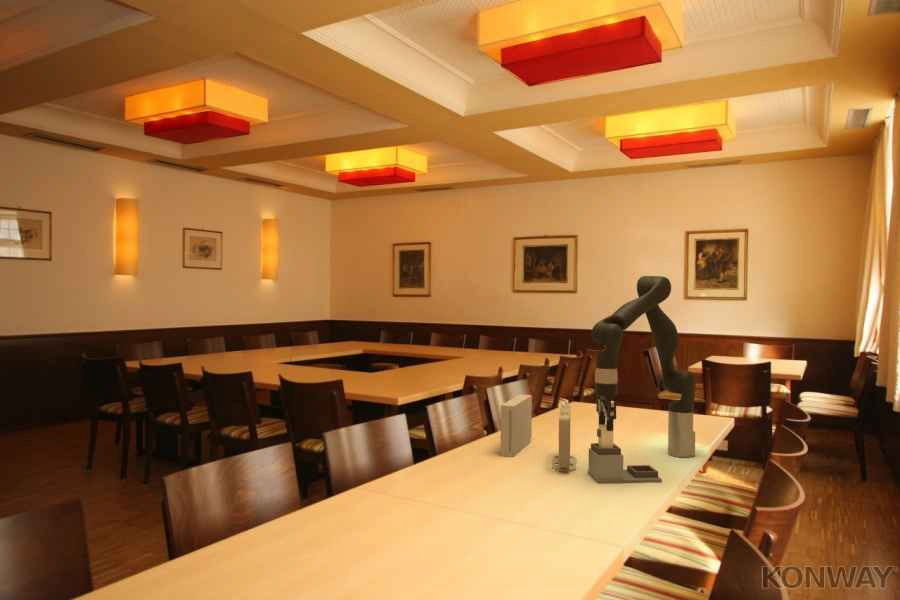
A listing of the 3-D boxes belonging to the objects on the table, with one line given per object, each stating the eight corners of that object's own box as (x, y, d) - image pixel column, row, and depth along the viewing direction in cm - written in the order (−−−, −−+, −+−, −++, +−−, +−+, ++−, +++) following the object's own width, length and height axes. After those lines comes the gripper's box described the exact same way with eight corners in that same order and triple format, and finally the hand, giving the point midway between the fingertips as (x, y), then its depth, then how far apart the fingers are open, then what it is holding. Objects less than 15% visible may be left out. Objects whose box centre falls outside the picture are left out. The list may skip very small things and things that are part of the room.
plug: (609, 450, 217) (609, 424, 217) (613, 453, 213) (613, 427, 213) (595, 450, 216) (596, 424, 216) (599, 453, 212) (599, 427, 212)
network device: (575, 474, 219) (576, 417, 218) (550, 472, 220) (551, 416, 220) (576, 455, 244) (576, 404, 243) (553, 454, 245) (553, 403, 245)
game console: (499, 456, 243) (499, 405, 243) (518, 440, 268) (518, 394, 268) (513, 457, 241) (513, 406, 240) (531, 441, 266) (531, 395, 266)
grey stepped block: (648, 471, 222) (648, 441, 222) (662, 482, 210) (662, 449, 210) (587, 472, 220) (587, 441, 220) (597, 483, 208) (598, 450, 208)
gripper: (624, 384, 207) (623, 432, 208) (610, 378, 222) (609, 423, 222) (602, 384, 207) (601, 433, 207) (589, 378, 221) (589, 423, 221)
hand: (605, 428), depth 214 cm, fingers open, 8 cm apart
